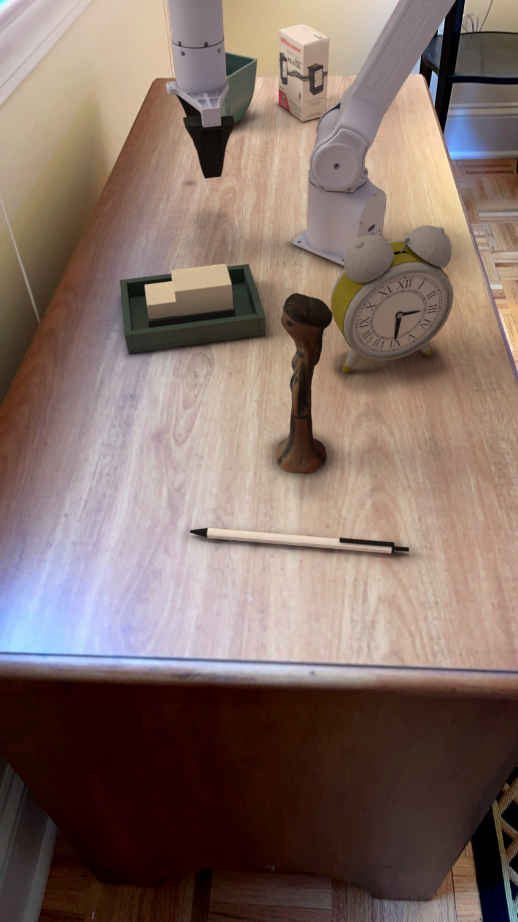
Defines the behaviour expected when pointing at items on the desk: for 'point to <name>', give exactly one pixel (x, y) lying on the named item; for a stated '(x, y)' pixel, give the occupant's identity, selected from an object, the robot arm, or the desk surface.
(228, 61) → the flower pot
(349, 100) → the robot arm
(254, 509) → the desk surface
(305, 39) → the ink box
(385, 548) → the pen
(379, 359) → the alarm clock
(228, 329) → the dark green tray
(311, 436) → the figurine
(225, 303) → the beige wooden block
